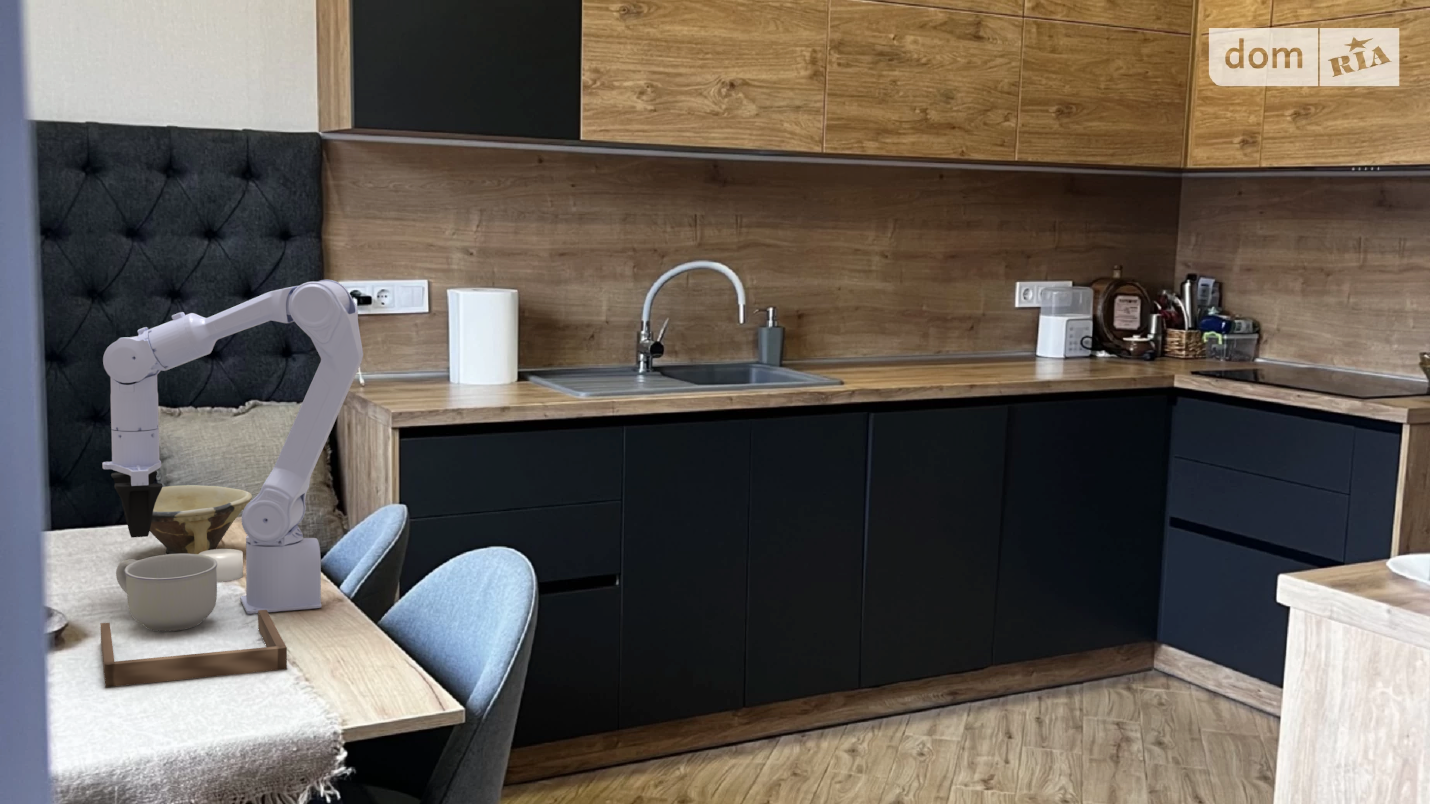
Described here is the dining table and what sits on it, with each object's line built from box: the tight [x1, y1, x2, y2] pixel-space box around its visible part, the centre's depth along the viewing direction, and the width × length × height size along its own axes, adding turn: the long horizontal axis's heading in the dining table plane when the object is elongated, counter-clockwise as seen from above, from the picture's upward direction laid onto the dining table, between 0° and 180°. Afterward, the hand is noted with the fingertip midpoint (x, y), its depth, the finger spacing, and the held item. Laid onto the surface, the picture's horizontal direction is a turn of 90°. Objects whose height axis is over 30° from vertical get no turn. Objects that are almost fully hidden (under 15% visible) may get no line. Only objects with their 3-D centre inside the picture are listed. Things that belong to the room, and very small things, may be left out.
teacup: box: [115, 554, 218, 633], centre depth 171 cm, size 14×11×8 cm
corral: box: [100, 610, 288, 688], centre depth 159 cm, size 19×17×2 cm
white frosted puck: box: [199, 548, 244, 583], centre depth 195 cm, size 6×6×4 cm
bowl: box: [149, 484, 253, 555], centre depth 206 cm, size 18×18×10 cm
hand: (137, 530), depth 179 cm, fingers open, 7 cm apart
